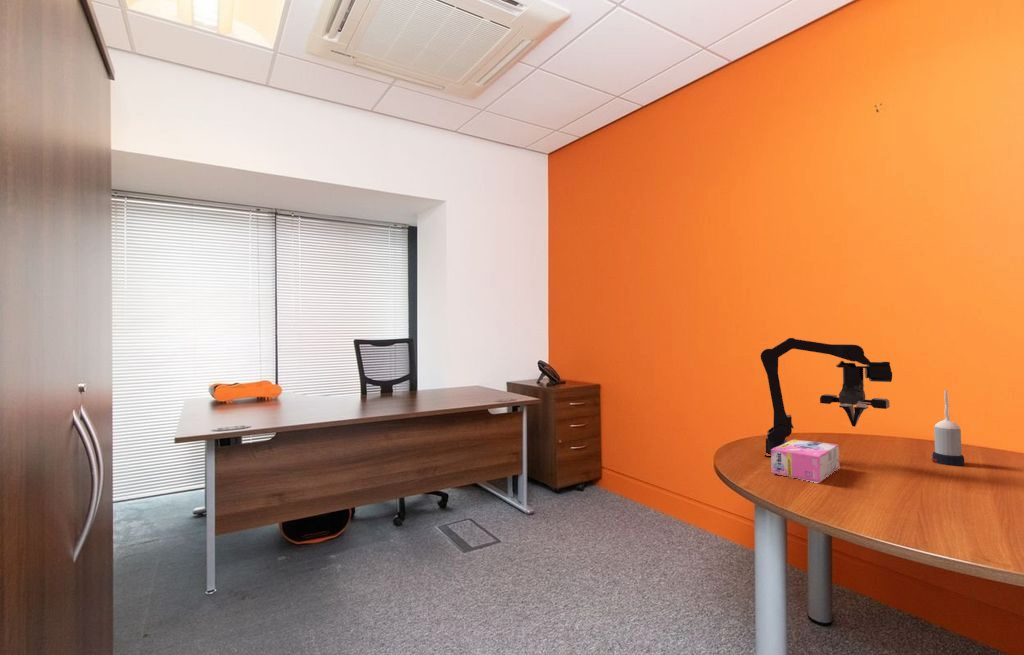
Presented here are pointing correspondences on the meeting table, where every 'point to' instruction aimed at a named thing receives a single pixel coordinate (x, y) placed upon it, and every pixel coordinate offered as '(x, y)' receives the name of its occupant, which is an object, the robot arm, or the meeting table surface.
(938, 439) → the humidifier
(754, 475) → the meeting table surface
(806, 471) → the gum box
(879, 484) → the meeting table surface
